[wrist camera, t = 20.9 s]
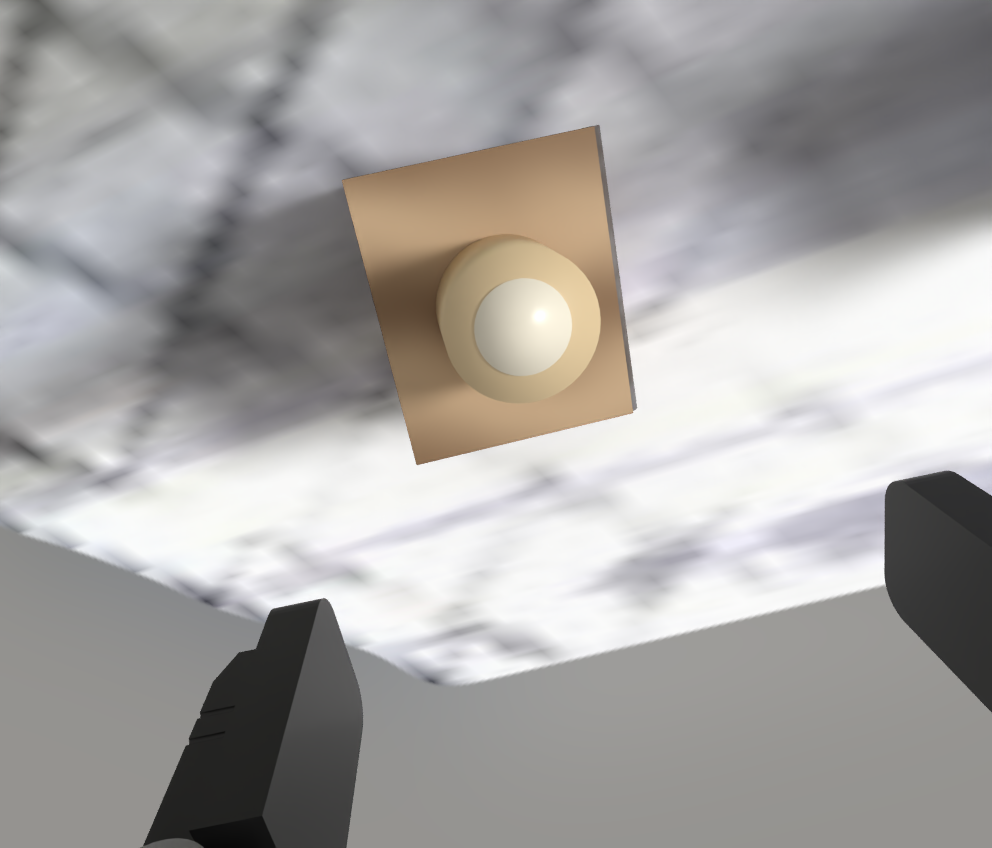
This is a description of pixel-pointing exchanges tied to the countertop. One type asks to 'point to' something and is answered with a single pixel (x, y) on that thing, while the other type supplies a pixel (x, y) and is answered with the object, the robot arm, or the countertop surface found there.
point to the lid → (452, 227)
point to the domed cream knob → (517, 318)
